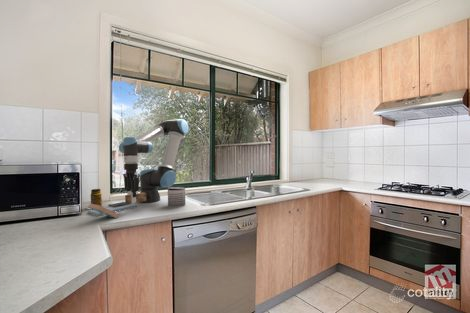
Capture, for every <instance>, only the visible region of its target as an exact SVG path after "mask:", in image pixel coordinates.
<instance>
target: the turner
mask: <svg viewBox="0 0 470 313" xmlns="http://www.w3.org/2000/svg"><path fill="white" fill-rule="evenodd" d="M124 196H125V197H124V201H121V202H120V201H119V202H116V203H115V202H114V203H110V204H108V205H107V206H108V207H113V208H115V207H120V206H125V205H130V204H133V203H131V194H130V195H127V194H125V195H124ZM143 201H146V193H144V192H143V193H140V192H136V202H135V203H134V204H137V203H140V202H143Z"/></svg>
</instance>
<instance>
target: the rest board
mask: <svg viewBox="0 0 470 313" xmlns="http://www.w3.org/2000/svg"><path fill="white" fill-rule="evenodd" d="M134 207H135V208H138V204H137V203H132V204H130V205H125V206H120V207H115V208H113V207H108V205H107V206H105V207H104V208H106V209H108V210H110V211H112V212H115V211H118V212H120V211H119V210H122V211H125V210H124V209H127V210H130V209H129V208H131V209H134ZM89 213H90V214H89ZM115 213H116V212H115ZM87 214H89V215H93V214H94V215H93V216H96V215H97V217H101V216H104V215H103V214H102V213H99V212H97V211H95V210H92V209H87ZM100 215H101V216H100Z"/></svg>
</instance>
